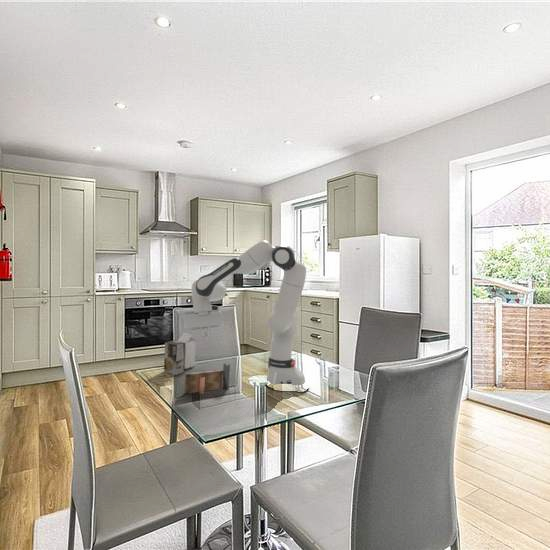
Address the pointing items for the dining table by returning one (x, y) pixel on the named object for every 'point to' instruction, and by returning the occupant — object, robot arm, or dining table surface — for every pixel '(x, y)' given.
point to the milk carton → (188, 350)
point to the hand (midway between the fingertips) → (205, 336)
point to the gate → (211, 380)
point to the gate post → (226, 376)
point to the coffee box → (174, 357)
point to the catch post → (202, 385)
